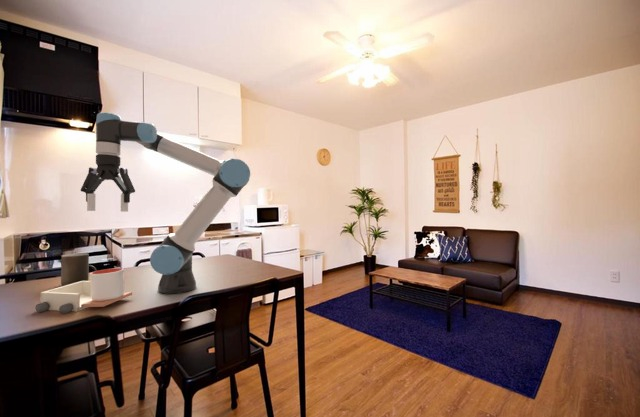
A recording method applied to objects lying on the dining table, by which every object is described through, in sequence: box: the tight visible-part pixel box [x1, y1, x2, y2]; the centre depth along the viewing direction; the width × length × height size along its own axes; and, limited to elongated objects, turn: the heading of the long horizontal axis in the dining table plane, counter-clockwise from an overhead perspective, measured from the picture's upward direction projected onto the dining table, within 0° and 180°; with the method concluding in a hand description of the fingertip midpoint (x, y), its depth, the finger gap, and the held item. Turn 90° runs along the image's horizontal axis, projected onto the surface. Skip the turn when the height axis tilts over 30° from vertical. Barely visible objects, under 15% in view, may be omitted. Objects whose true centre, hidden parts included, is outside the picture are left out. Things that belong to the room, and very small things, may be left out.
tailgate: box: [81, 291, 133, 308], centre depth 106 cm, size 1×13×8 cm
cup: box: [89, 267, 125, 301], centre depth 106 cm, size 10×10×10 cm
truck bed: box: [35, 280, 92, 315], centre depth 107 cm, size 14×21×6 cm, turn 175°
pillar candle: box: [60, 251, 90, 287], centre depth 131 cm, size 10×10×15 cm
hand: (107, 211), depth 108 cm, fingers open, 13 cm apart
